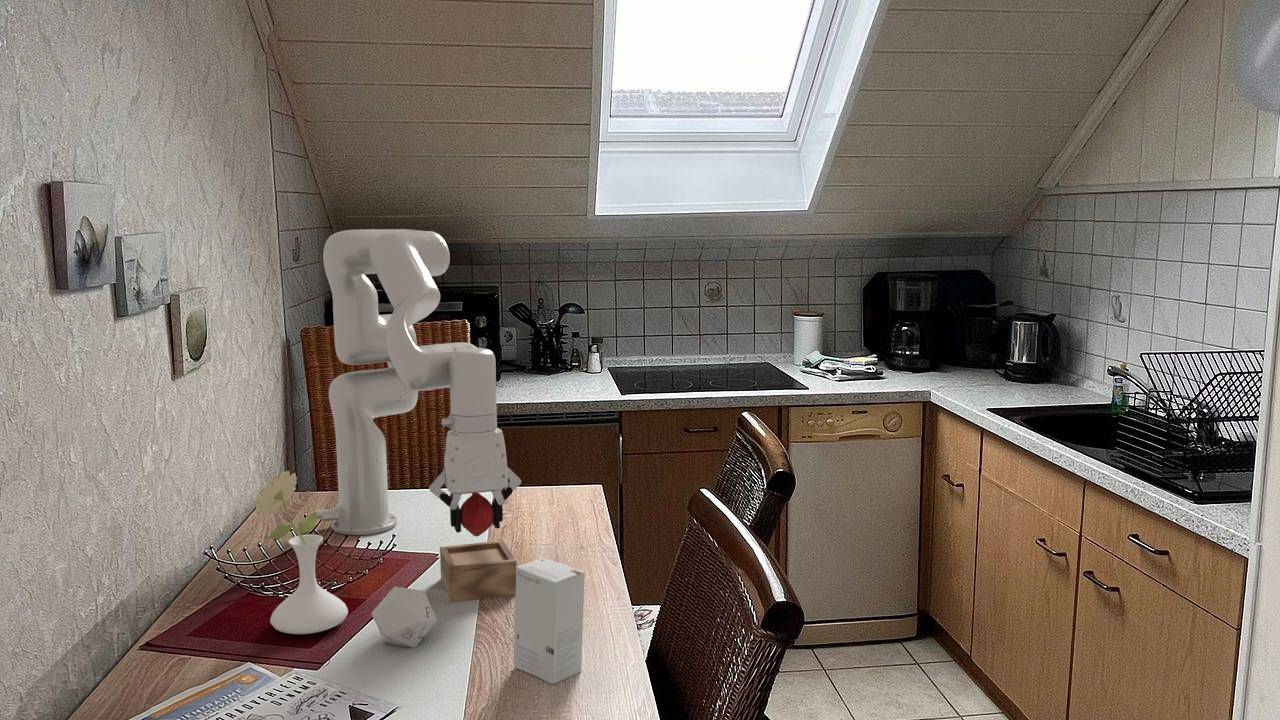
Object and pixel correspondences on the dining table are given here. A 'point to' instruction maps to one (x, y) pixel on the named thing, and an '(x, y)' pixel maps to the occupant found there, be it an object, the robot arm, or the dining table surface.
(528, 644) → the skincare box
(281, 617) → the flower in vase
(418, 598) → the die
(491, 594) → the walnut box
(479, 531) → the onion
